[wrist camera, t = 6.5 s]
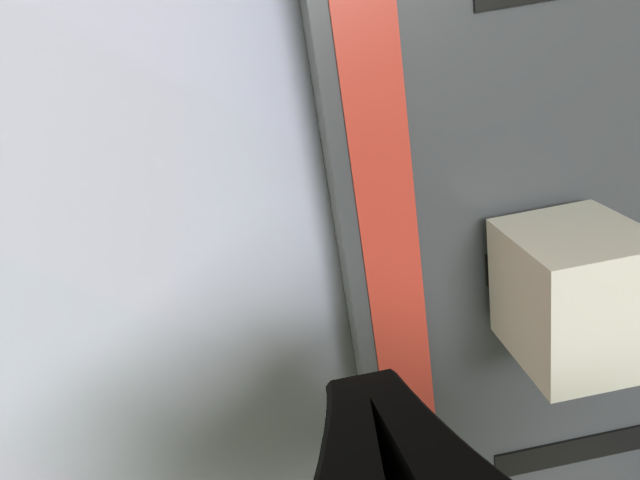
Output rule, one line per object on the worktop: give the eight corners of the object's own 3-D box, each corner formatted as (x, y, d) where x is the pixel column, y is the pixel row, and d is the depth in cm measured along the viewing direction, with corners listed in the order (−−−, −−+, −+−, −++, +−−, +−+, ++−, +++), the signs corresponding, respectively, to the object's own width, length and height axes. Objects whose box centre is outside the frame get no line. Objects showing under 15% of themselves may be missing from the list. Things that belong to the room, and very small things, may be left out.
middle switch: (587, 309, 16) (670, 379, 13) (490, 328, 16) (550, 403, 13) (591, 198, 15) (684, 245, 12) (486, 219, 15) (551, 271, 12)
